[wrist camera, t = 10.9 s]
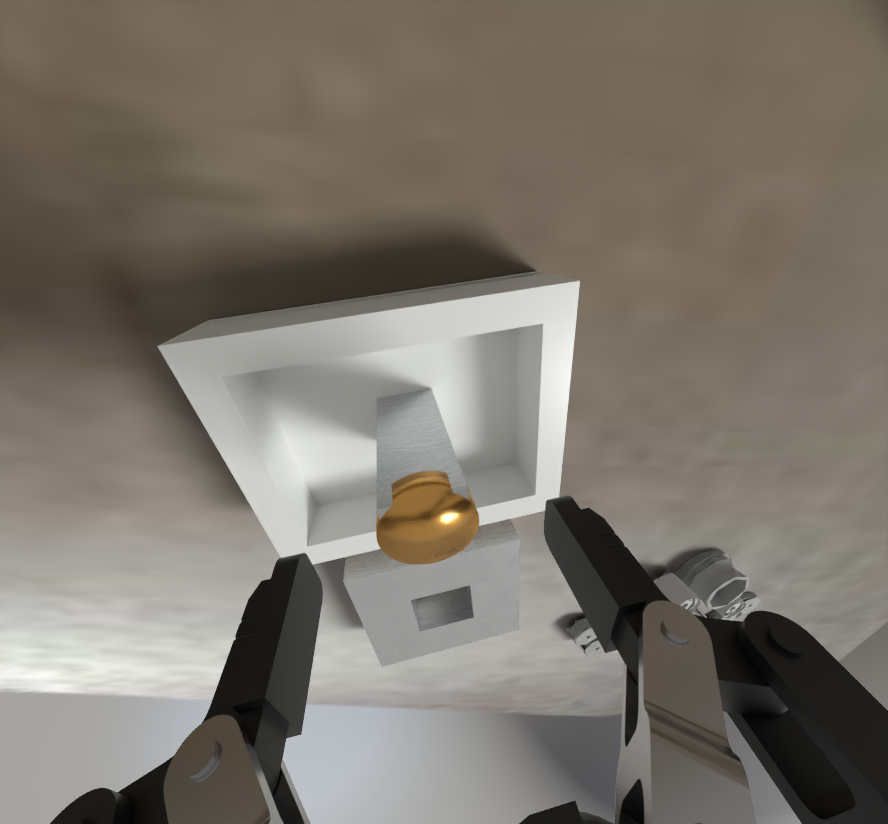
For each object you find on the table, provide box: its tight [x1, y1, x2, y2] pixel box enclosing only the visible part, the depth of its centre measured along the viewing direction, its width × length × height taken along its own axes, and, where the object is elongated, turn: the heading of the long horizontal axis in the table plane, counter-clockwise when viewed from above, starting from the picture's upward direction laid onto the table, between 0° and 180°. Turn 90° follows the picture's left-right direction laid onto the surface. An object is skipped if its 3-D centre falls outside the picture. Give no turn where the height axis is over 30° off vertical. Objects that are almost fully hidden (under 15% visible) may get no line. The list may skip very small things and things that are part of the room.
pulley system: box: [568, 549, 761, 656], centre depth 36 cm, size 27×5×15 cm
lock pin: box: [376, 388, 479, 567], centre depth 14 cm, size 4×4×8 cm
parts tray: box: [158, 271, 580, 565], centre depth 17 cm, size 13×16×4 cm
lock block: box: [343, 519, 520, 667], centre depth 25 cm, size 12×12×3 cm
